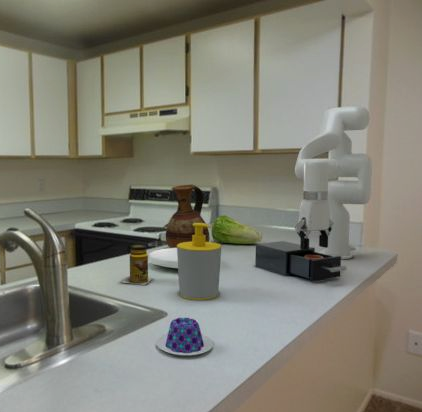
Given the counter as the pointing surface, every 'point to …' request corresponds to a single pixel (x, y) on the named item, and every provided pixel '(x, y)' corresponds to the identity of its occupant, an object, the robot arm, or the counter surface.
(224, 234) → the lettuce
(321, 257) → the cup
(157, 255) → the plate
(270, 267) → the dark gray drawer box
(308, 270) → the drawer
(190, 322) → the pudding
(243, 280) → the counter surface
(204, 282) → the soap bottle
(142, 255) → the condiment
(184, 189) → the ceramic pitcher
